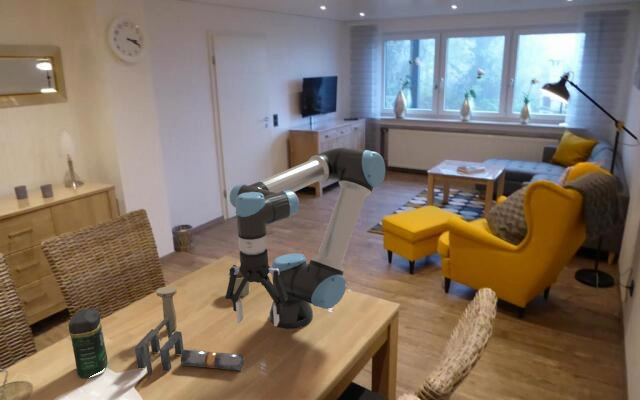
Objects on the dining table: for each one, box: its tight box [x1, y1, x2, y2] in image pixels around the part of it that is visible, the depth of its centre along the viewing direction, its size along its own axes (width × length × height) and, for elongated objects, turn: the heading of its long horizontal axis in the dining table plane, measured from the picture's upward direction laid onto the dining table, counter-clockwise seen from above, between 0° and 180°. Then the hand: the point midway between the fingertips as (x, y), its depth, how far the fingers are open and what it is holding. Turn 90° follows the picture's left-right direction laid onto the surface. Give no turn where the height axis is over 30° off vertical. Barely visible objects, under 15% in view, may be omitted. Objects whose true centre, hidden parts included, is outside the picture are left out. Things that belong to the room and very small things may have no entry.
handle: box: [155, 286, 178, 332], centre depth 151 cm, size 5×6×15 cm
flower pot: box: [226, 271, 251, 298], centre depth 175 cm, size 9×9×9 cm
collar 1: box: [134, 328, 161, 369], centre depth 137 cm, size 2×10×7 cm, turn 170°
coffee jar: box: [67, 307, 109, 379], centre depth 131 cm, size 10×8×19 cm
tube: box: [180, 349, 245, 371], centre depth 133 cm, size 18×4×4 cm, turn 80°
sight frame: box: [143, 316, 175, 376], centre depth 135 cm, size 1×14×11 cm, turn 170°
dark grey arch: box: [159, 330, 185, 372], centre depth 135 cm, size 2×10×7 cm, turn 170°
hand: (258, 322), depth 127 cm, fingers open, 10 cm apart
